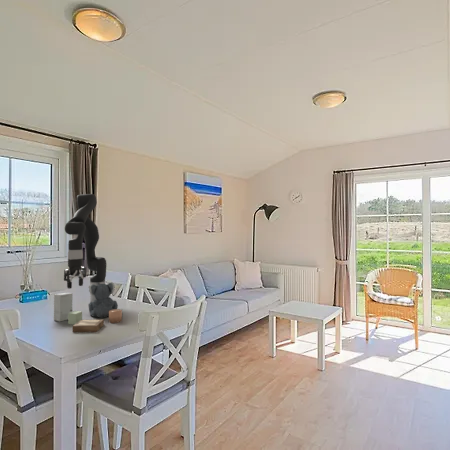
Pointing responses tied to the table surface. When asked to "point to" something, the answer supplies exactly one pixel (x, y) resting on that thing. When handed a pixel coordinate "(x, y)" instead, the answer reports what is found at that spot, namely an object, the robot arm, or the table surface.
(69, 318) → the sage block
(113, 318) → the tan rounded block
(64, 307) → the skincare box
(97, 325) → the walnut base
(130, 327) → the table surface
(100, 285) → the koala plush
